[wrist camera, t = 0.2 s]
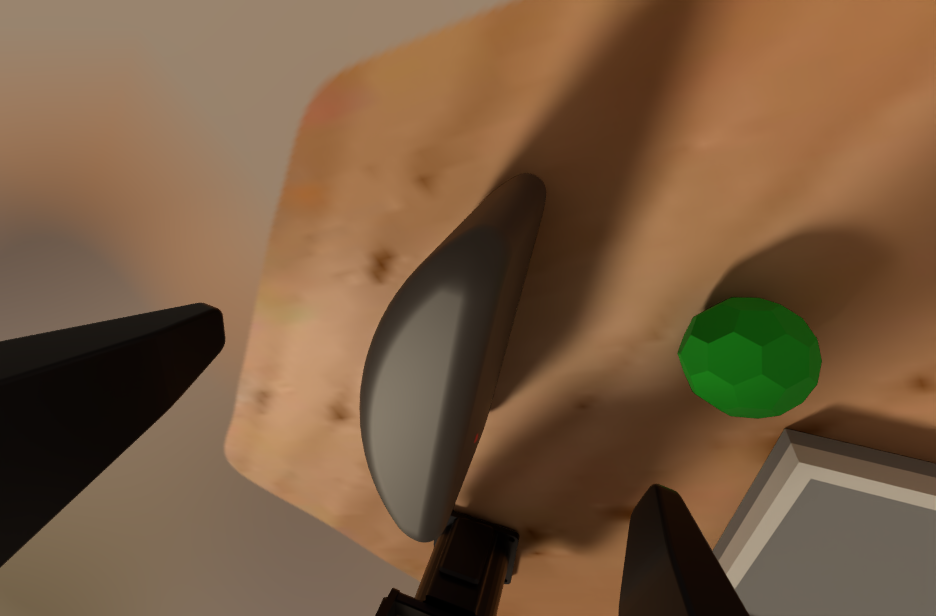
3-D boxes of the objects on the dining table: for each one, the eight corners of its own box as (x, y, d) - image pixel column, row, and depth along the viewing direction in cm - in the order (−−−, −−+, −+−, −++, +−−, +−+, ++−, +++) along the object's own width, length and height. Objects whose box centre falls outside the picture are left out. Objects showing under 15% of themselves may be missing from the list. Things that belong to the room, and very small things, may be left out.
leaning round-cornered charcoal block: (460, 147, 20) (355, 207, 13) (557, 172, 20) (509, 251, 12) (422, 399, 29) (346, 526, 21) (488, 423, 28) (434, 564, 20)
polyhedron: (809, 279, 18) (857, 341, 15) (787, 374, 21) (824, 449, 17) (677, 279, 20) (689, 334, 16) (671, 367, 22) (679, 434, 18)
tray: (892, 662, 27) (910, 705, 26) (686, 595, 30) (690, 630, 28) (1092, 500, 19) (1140, 546, 17) (784, 428, 22) (798, 462, 20)
